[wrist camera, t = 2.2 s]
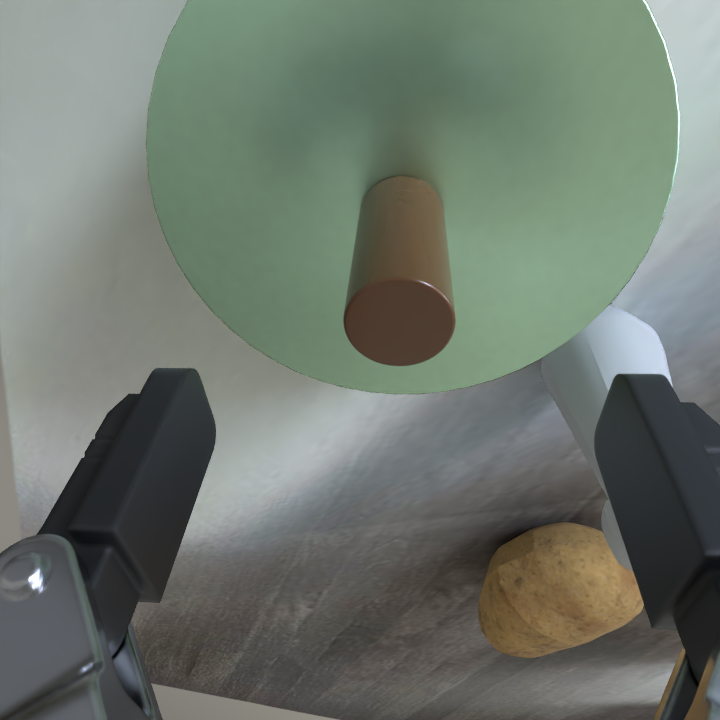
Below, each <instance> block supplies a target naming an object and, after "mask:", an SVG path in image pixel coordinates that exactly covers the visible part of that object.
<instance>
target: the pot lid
mask: <svg viewBox="0 0 720 720" xmlns="http://www.w3.org/2000/svg"><path fill="white" fill-rule="evenodd" d="M679 127H680V114H679V105H678V96H677V87H676V79H675V75H674V72H673V68H672V64H671V61H670V57H669V53H668V50H667V46H666V42H665V40H664V37H663V35H662V33H661V31H660V29H659V27H658V24H657V22H656V20H655V18H654V16H653V14H652V11H651V9H650V7H649V5H648V3H647V1H646V0H188V1H187V3H186V5H185V7H184V9H183V11H182V13H181V14H180V16H179V18H178V20H177V22H176V24H175V26H174V27H173V29H172V31H171V33H170V35H169V37H168V39H167V42H166V45H165V48H164V51H163V53H162V56H161V59H160V62H159V65H158V67H157V70H156V73H155V78H154V83H153V88H152V93H151V98H150V103H149V108H148V121H147V138H146V149H147V162H148V175H149V182H150V187H151V191H152V196H153V201H154V206H155V210H156V213H157V216H158V219H159V222H160V224H161V227H162V230H163V233H164V236H165V239H166V241H167V243H168V245H169V247H170V249H171V251H172V253H173V255H174V257H175V259H176V261H177V263H178V265H179V267H180V268H181V270H182V272H183V273H184V275H185V276H186V278H187V279H188V281H189V282H190V284H191V285H192V287H193V289H194V290H195V291H196V292H197V294H198V295H199V296H200V297H201V298H202V300H203V301H204V302H205V303H206V305H207V306H208V307H209V308H210V310H211V311H212V312H213V313H214V314H215V315H216V316H217V317H218V318H219V319H220V320H221V321H223V322H224V323H225V324H226V325H227V326H228V327H229V328H230V329H231V330H232V331H233V332H234V333H236V334H237V335H238V336H240V337H241V338H242V339H243V340H245V341H246V342H247V343H248V344H250V345H251V346H252V347H254V348H255V349H257V350H259V351H260V352H262V353H263V354H265V355H266V356H268V357H269V358H271V359H273V360H275V361H277V362H278V363H280V364H282V365H284V366H286V367H288V368H290V369H292V370H294V371H296V372H299V373H301V374H304V375H307V376H309V377H312V378H314V379H317V380H319V381H323V382H326V383H330V384H333V385H337V386H340V387H344V388H350V389H355V390H361V391H366V392H375V393H386V394H425V393H435V392H445V391H450V390H455V389H461V388H466V387H470V386H474V385H477V384H481V383H484V382H488V381H491V380H495V379H497V378H500V377H502V376H505V375H507V374H510V373H512V372H515V371H518V370H520V369H522V368H524V367H526V366H528V365H530V364H532V363H534V362H536V361H537V360H539V359H541V358H543V357H545V356H546V355H548V354H550V353H551V352H553V351H554V350H556V349H557V348H559V347H560V346H562V345H564V344H565V343H567V342H568V341H569V340H571V339H572V338H573V337H574V336H576V335H577V334H578V333H579V332H581V331H582V330H583V329H584V328H586V327H587V326H588V325H589V324H590V323H591V322H592V321H593V320H594V319H595V318H596V317H597V316H598V315H600V314H601V313H602V312H603V311H604V310H605V309H606V308H607V307H608V306H609V305H610V304H611V302H612V301H613V300H614V299H615V298H616V296H617V295H618V294H619V293H620V291H621V290H622V289H623V288H624V286H625V285H626V284H627V283H628V281H629V280H630V279H631V277H632V276H633V274H634V273H635V271H636V269H637V268H638V266H639V265H640V263H641V261H642V260H643V258H644V257H645V255H646V254H647V252H648V250H649V248H650V246H651V243H652V241H653V239H654V237H655V235H656V233H657V231H658V229H659V227H660V224H661V222H662V219H663V216H664V213H665V210H666V207H667V204H668V201H669V198H670V195H671V191H672V187H673V181H674V176H675V171H676V165H677V160H678V152H679Z"/></svg>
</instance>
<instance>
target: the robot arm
mask: <svg viewBox="0 0 720 720" xmlns="http://www.w3.org/2000/svg"><path fill="white" fill-rule="evenodd" d="M215 439H216V426H215V420H214V417H213V414H212V411H211V408H210V405H209V402H208V399H207V396H206V393H205V390H204V387H203V384H202V381H201V378H200V376H199V373H198V372H197V370H196V369H193V368H156V369H154V370H153V371H152V372H151V374H150V376H149V377H148V379H147V381H146V383H145V385H144V387H143V389H142V390H141V392H140V394H128V395H127V396H126V397H125V398H124V399H123V400H122V401H120V402H119V403H118V404H117V405H116V406H115V407H114V408H113V409H112V410H110V411H109V412H108V413H107V415H106V417H105V419H104V420H103V422H102V424H101V426H100V427H99V429H98V431H97V432H96V434H95V439H92V441H91V443H90V445H89V446H88V448H87V450H86V451H85V457H84V458H81V460H80V462H79V464H78V465H77V467H76V469H75V471H74V472H73V474H72V476H71V477H70V479H69V481H68V483H67V484H66V486H65V488H64V490H63V491H62V493H61V495H60V496H59V498H58V500H57V502H56V503H55V505H54V507H53V509H52V510H51V512H50V514H49V516H48V517H47V519H46V521H45V522H44V524H43V526H42V527H41V529H40V530H39V532H38V533H37V535H35V536H31V537H28V538H25V539H23V540H21V541H19V542H17V543H15V544H13V545H11V546H10V547H8V548H7V549H6V550H4V551H3V552H2V553H0V720H163V719H162V717H161V713H160V710H159V707H158V704H157V701H156V698H155V695H154V691H153V688H152V685H151V682H150V679H149V676H148V673H147V669H146V666H145V663H144V660H143V657H142V654H141V651H140V648H139V645H138V641H137V638H136V635H135V632H134V629H133V626H132V624H131V622H130V621H131V618H132V616H133V613H134V611H135V608H136V605H137V603H138V602H153V603H160V601H161V598H162V596H163V593H164V590H165V587H166V584H167V581H168V578H169V576H170V573H171V570H172V567H173V564H174V561H175V558H176V556H177V553H178V550H179V547H180V544H181V541H182V538H183V536H184V533H185V530H186V527H187V524H188V521H189V518H190V516H191V513H192V510H193V507H194V504H195V501H196V498H197V496H198V493H199V490H200V487H201V484H202V481H203V478H204V476H205V473H206V470H207V467H208V464H209V461H210V458H211V456H212V453H213V450H214V445H215ZM594 450H595V456H596V460H597V463H598V466H599V469H600V472H601V475H602V478H603V481H604V484H605V488H606V491H607V494H608V497H609V500H610V503H611V506H612V509H613V512H614V515H615V518H616V521H617V524H618V527H619V530H620V533H621V536H622V539H623V542H624V545H625V548H626V551H627V554H628V557H629V560H630V563H631V566H632V569H633V572H634V575H635V578H636V581H637V584H638V587H639V590H640V593H641V596H642V599H643V602H644V605H645V608H646V612H647V615H648V618H649V621H650V624H651V627H652V629H673V630H678V633H679V635H680V638H681V641H682V644H683V646H684V648H683V650H682V651H681V653H680V654H679V656H678V659H677V661H676V664H675V666H674V669H673V671H672V674H671V676H670V679H669V681H668V684H667V686H666V689H665V691H664V694H663V696H662V699H661V701H660V704H659V706H658V709H657V711H656V713H655V716H654V718H653V720H720V426H719V424H718V423H717V422H715V421H714V420H713V419H712V418H711V417H710V416H709V415H707V414H706V413H705V412H704V411H703V410H702V409H701V408H699V407H698V406H697V405H696V404H695V403H683V402H680V401H679V399H678V397H677V395H676V393H675V391H674V389H673V388H672V386H671V384H670V382H669V380H668V379H667V378H666V376H664V375H663V374H617V375H616V376H615V377H614V379H613V381H612V384H611V386H610V389H609V392H608V395H607V398H606V400H605V403H604V406H603V409H602V412H601V414H600V417H599V420H598V423H597V426H596V429H595V435H594Z"/></svg>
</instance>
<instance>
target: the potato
mask: <svg viewBox="0 0 720 720" xmlns="http://www.w3.org/2000/svg"><path fill="white" fill-rule="evenodd" d="M643 605H644V602H643V599H642V596H641V593H640V590H639V587H638V584H637V581H636V578H635V575H634V572H633V571H630V570H629V569H627V568H625V567H623V566H622V565H620V564H619V563H618V561H617V560H616V558H615V556H614V555H613V553H612V551H611V549H610V547H609V545H608V543H607V541H606V539H605V537H604V533H603V532H601V531H599V530H597V529H595V528H592V527H588V526H584V525H580V524H576V523H569V522H560V523H552V524H546V525H542V526H539V527H536V528H532V529H530V530H529V531H527V532H525V533H523V534H521V535H520V536H518V537H516V538H514V539H513V540H511V541H509V542H507V543H506V544H504V545H502V546H500V547H499V548H498V550H497V551H496V552H495V554H494V555H493V557H492V558H491V559H490V563H489V566H488V570H487V574H486V577H485V580H484V583H483V586H482V590H481V595H480V599H479V604H478V618H479V622H480V626H481V630H482V632H483V633H484V635H485V636H486V638H487V639H488V641H489V642H490V643H491V644H492V646H493V647H494V648H495V649H496V650H497V651H499V652H502V653H505V654H508V655H512V656H517V657H525V658H532V657H540V656H543V655H546V654H549V653H553V652H556V651H559V650H563V649H567V648H571V647H574V646H578V645H581V644H585V643H588V642H590V641H592V640H594V639H596V638H598V637H600V636H602V635H604V634H606V633H608V632H611V631H613V630H615V629H618V628H620V627H622V626H623V625H625V624H626V623H628V622H629V621H631V620H632V619H633V618H634V617H635V616H637V615H638V614H639V613H640V612H641V611H642V609H643Z"/></svg>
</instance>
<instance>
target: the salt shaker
mask: <svg viewBox="0 0 720 720" xmlns="http://www.w3.org/2000/svg"><path fill="white" fill-rule="evenodd" d="M617 374H663V375H664V376H666V378H667V379H668V380H669V382H670V384H671V386H672V381H671V377H670V373H669V368H668V364H667V360H666V355H665V351H664V349H663V346H662V344H661V341H660V339H659V337H658V334H657V333H656V332H655V331H654V330H653V329H652V328H651V327H650V326H648V325H647V324H646V323H644V322H643V321H641V320H640V319H638V318H637V317H635V316H634V315H632V314H630V313H628V312H626V311H624V310H622V309H620V308H618V307H616V306H614V305H609V306H608V307H607V308H606V309H605V310H604V311H603V312H602V313H601V314H600V315H598V316H597V317H596V318H595V319H594V320H593V321H592V322H591V323H590V324H589V325H588V326H587V327H586V328H584V329H583V330H582V331H581V332H579V333H578V334H577V335H576V336H574V337H573V338H572V339H571V340H569V341H568V342H567V343H565V344H564V345H562V346H560V347H559V348H557V349H556V350H554V351H553V352H551V353H550V354H548V355H546V356H545V357H543V358H542V362H541V377H542V379H543V380H544V382H545V384H546V386H547V387H548V389H549V391H550V393H551V394H552V396H553V398H554V400H555V402H556V404H557V405H558V407H559V409H560V411H561V413H562V415H563V417H564V418H565V420H566V422H567V424H568V426H569V428H570V429H571V431H572V433H573V435H574V437H575V439H576V441H577V442H578V444H579V446H580V448H581V450H582V452H583V454H584V455H585V457H586V459H587V461H588V463H589V465H590V466H591V468H592V470H593V472H594V474H595V476H596V478H597V479H598V481H599V483H600V485H601V487H602V489H603V490H604V492H605V494H606V496H607V498H608V500H607V501H606V502H605V505H604V508H603V512H602V517H601V525H602V529H603V533H604V537H605V539H606V541H607V543H608V545H609V547H610V549H611V551H612V553H613V555H614V556H615V558H616V560H617V561H618V563H619V564H620V565H622V566H623V567H625V568H627V569H629V570H630V571H633V569H632V566H631V563H630V560H629V557H628V554H627V551H626V548H625V545H624V542H623V539H622V536H621V533H620V530H619V527H618V524H617V521H616V518H615V515H614V512H613V509H612V506H611V503H610V500H609V497H608V494H607V491H606V488H605V484H604V481H603V478H602V475H601V472H600V469H599V466H598V463H597V460H596V456H595V450H594V435H595V429H596V426H597V423H598V420H599V417H600V414H601V412H602V409H603V406H604V403H605V400H606V398H607V395H608V392H609V389H610V386H611V384H612V381H613V379H614V377H615V376H616V375H617ZM672 388H673V386H672Z"/></svg>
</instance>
